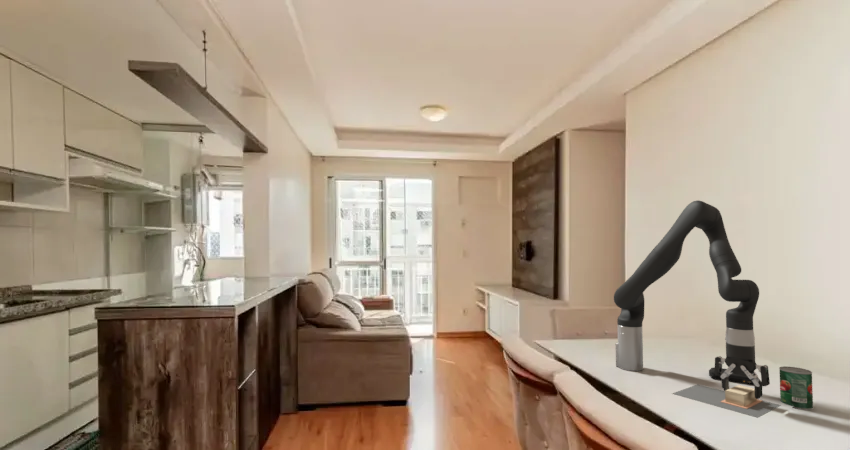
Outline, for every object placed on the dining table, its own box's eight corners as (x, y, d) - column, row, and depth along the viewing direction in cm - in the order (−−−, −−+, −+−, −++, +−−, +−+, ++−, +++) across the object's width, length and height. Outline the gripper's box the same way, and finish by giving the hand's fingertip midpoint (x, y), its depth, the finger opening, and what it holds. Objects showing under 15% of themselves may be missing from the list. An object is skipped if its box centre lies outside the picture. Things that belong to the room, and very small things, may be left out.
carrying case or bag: (709, 380, 162) (758, 387, 154) (709, 372, 162) (758, 379, 154) (709, 373, 171) (755, 380, 163) (708, 365, 171) (755, 371, 163)
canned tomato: (773, 400, 140) (772, 366, 141) (798, 400, 140) (797, 366, 141) (793, 409, 132) (792, 373, 133) (820, 410, 132) (819, 373, 133)
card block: (739, 395, 142) (738, 384, 142) (757, 400, 138) (757, 389, 138) (725, 401, 137) (725, 390, 137) (744, 406, 133) (743, 395, 133)
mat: (671, 395, 145) (671, 393, 145) (698, 385, 155) (698, 383, 155) (757, 419, 125) (757, 416, 125) (781, 407, 135) (781, 404, 135)
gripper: (771, 345, 134) (773, 398, 134) (720, 337, 146) (721, 386, 146) (762, 348, 130) (763, 403, 130) (709, 339, 142) (711, 390, 141)
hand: (741, 394), depth 138 cm, fingers open, 8 cm apart
